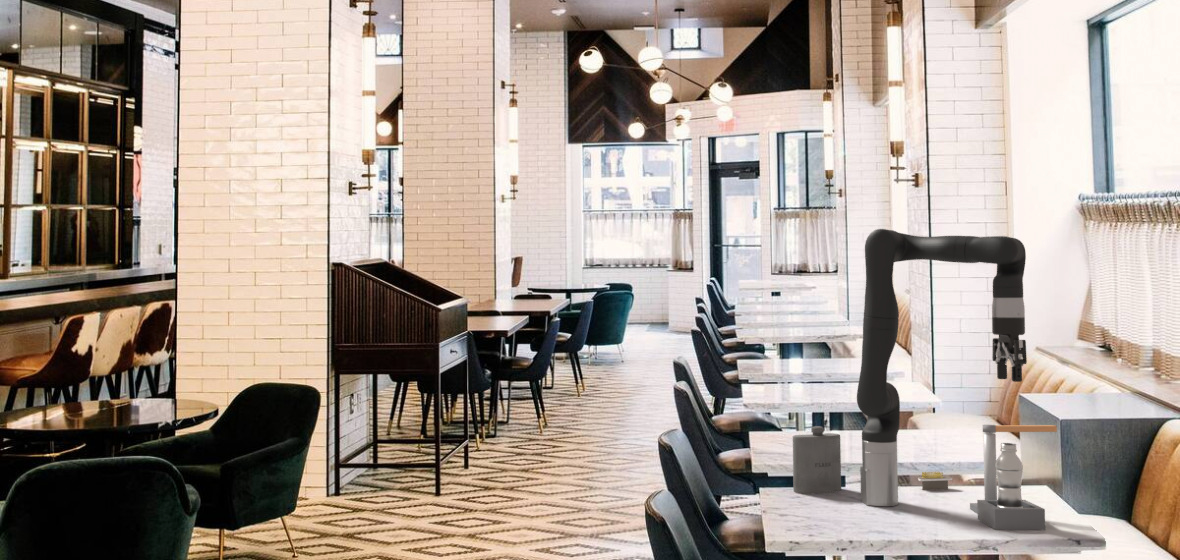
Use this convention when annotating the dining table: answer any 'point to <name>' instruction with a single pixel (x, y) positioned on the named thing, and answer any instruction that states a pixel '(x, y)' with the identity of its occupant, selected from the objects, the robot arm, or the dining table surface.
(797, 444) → the flask
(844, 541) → the dining table surface
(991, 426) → the slender peach stick
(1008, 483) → the plastic bottle
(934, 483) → the platform
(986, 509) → the plug dock
